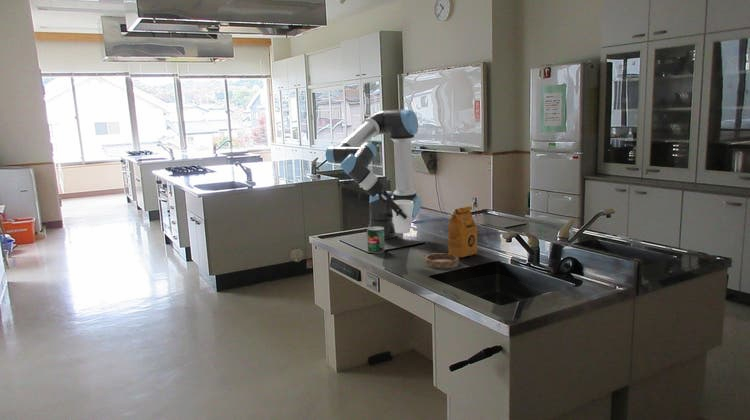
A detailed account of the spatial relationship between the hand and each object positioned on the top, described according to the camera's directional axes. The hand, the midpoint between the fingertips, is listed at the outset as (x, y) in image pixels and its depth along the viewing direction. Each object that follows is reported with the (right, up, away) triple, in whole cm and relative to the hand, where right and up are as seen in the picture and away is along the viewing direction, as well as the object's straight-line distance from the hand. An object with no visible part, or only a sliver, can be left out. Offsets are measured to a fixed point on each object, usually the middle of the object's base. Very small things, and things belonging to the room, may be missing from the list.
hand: (409, 220), depth 229 cm
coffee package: (+25, -16, +12) cm, 32 cm away
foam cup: (-3, -5, +1) cm, 6 cm away
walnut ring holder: (+14, -19, -1) cm, 23 cm away
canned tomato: (-14, -15, +22) cm, 30 cm away
